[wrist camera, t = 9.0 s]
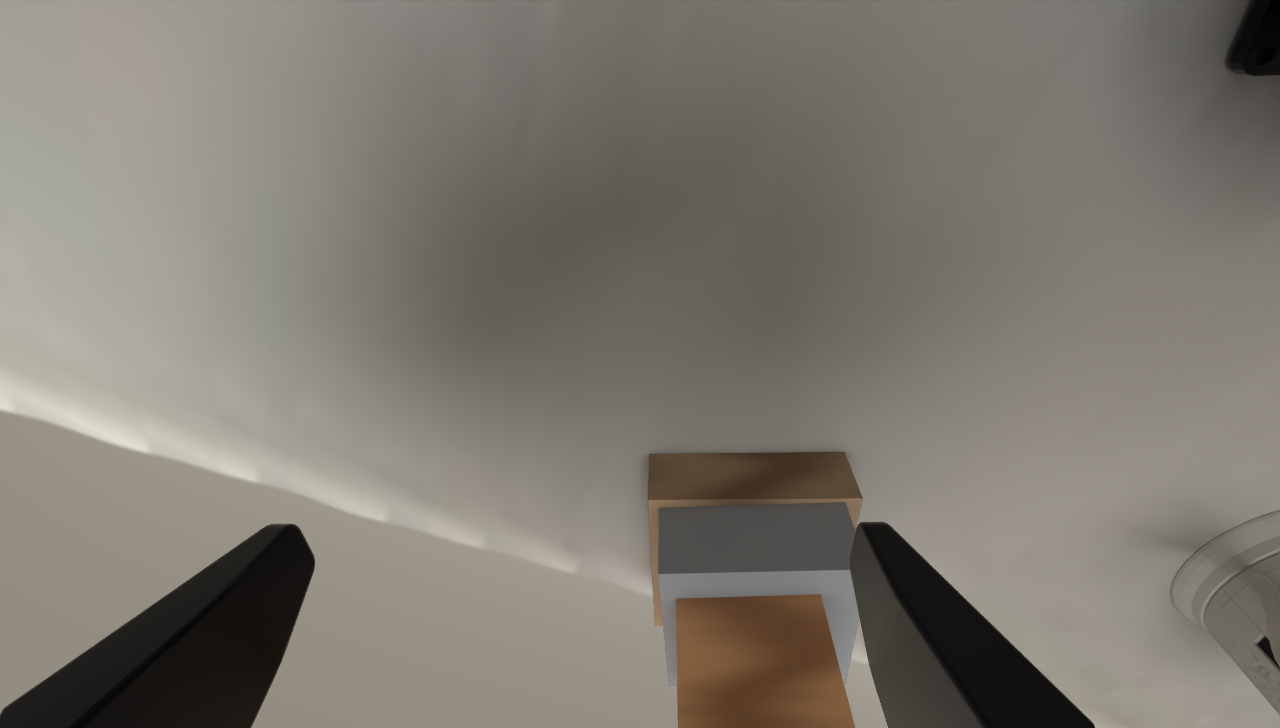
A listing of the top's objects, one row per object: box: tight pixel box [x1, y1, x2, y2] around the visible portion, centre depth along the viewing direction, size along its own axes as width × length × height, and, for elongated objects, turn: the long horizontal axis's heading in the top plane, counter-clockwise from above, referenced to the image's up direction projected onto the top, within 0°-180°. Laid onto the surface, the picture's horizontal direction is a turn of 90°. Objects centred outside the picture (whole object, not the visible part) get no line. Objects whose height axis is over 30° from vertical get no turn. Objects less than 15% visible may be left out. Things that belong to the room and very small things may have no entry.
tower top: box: [658, 502, 859, 685], centre depth 23 cm, size 7×7×3 cm
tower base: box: [648, 452, 863, 626], centre depth 25 cm, size 8×8×3 cm
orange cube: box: [676, 594, 855, 728], centre depth 19 cm, size 5×5×5 cm
